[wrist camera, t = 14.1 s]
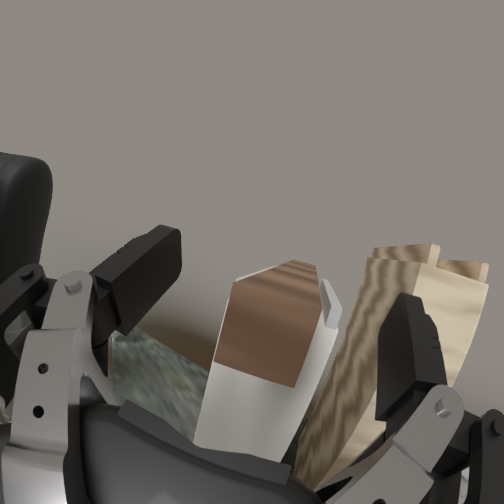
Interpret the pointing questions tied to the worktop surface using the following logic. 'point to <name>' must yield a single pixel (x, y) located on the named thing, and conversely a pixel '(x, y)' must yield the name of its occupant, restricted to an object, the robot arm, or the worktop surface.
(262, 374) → the walnut bar
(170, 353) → the worktop surface
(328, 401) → the tall stand
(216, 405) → the white upright box
